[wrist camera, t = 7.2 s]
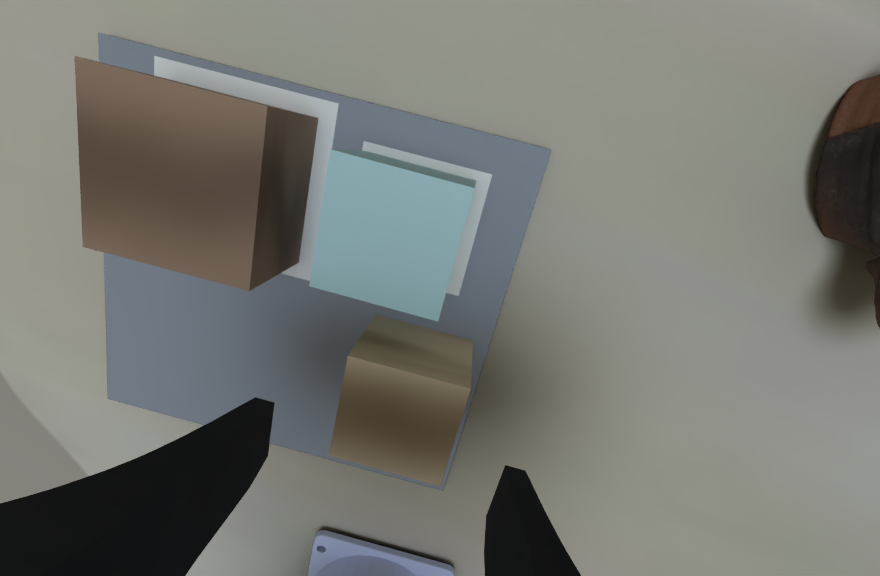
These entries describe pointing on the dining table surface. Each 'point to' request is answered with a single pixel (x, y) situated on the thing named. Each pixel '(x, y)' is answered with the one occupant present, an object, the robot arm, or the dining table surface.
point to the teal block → (389, 231)
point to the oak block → (403, 399)
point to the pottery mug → (853, 175)
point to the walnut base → (190, 176)
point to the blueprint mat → (306, 272)
